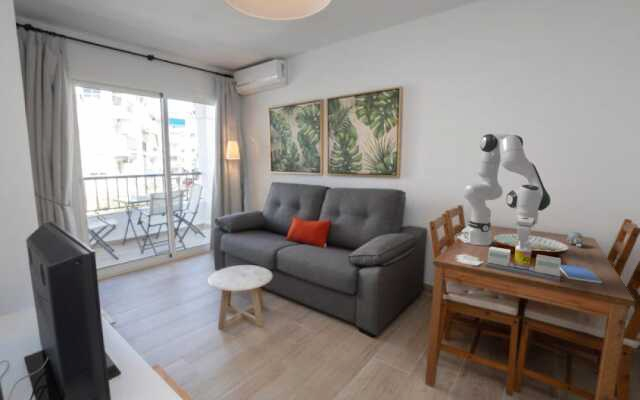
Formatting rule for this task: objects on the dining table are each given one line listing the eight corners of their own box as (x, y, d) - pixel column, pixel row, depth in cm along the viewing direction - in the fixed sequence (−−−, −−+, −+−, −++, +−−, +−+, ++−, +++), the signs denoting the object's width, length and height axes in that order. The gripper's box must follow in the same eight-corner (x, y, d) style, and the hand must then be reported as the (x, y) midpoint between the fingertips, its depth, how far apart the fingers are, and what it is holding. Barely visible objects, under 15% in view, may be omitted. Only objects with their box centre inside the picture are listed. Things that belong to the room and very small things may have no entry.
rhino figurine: (570, 250, 191) (574, 240, 187) (564, 239, 201) (567, 228, 197) (584, 252, 189) (588, 241, 185) (578, 240, 198) (581, 229, 194)
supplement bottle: (522, 270, 146) (525, 244, 144) (510, 265, 152) (512, 240, 150) (533, 268, 148) (535, 243, 146) (520, 264, 154) (523, 239, 152)
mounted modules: (487, 262, 156) (488, 249, 155) (489, 259, 161) (490, 246, 160) (558, 276, 138) (560, 261, 137) (558, 272, 143) (560, 258, 142)
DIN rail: (486, 262, 157) (486, 261, 157) (488, 260, 160) (488, 259, 160) (560, 276, 139) (560, 275, 139) (560, 274, 142) (560, 273, 142)
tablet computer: (556, 266, 158) (556, 263, 158) (587, 270, 153) (587, 267, 153) (567, 279, 141) (568, 276, 141) (602, 284, 136) (603, 281, 136)
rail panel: (485, 266, 155) (485, 264, 155) (488, 261, 163) (489, 258, 163) (559, 281, 137) (560, 278, 137) (559, 275, 145) (560, 272, 144)
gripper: (520, 214, 156) (517, 240, 158) (516, 221, 140) (513, 250, 143) (535, 216, 152) (532, 242, 155) (532, 223, 137) (529, 252, 139)
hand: (523, 246), depth 148 cm, fingers open, 8 cm apart
